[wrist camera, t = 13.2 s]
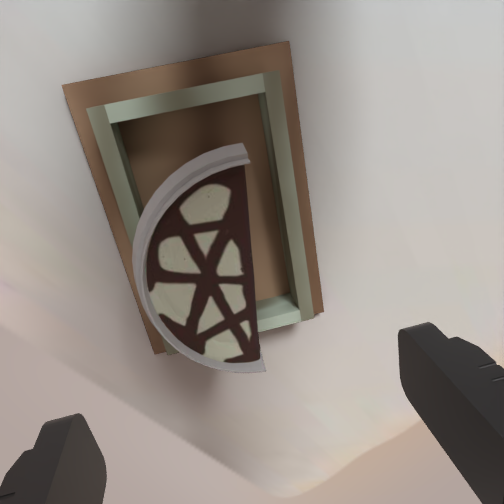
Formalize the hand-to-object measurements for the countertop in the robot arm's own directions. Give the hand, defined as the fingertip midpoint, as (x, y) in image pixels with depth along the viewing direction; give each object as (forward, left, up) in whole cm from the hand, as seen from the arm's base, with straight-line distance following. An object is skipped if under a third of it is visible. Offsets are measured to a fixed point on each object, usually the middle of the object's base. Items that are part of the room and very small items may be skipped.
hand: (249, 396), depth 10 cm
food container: (+1, +1, -20) cm, 20 cm away
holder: (0, +1, -20) cm, 20 cm away
